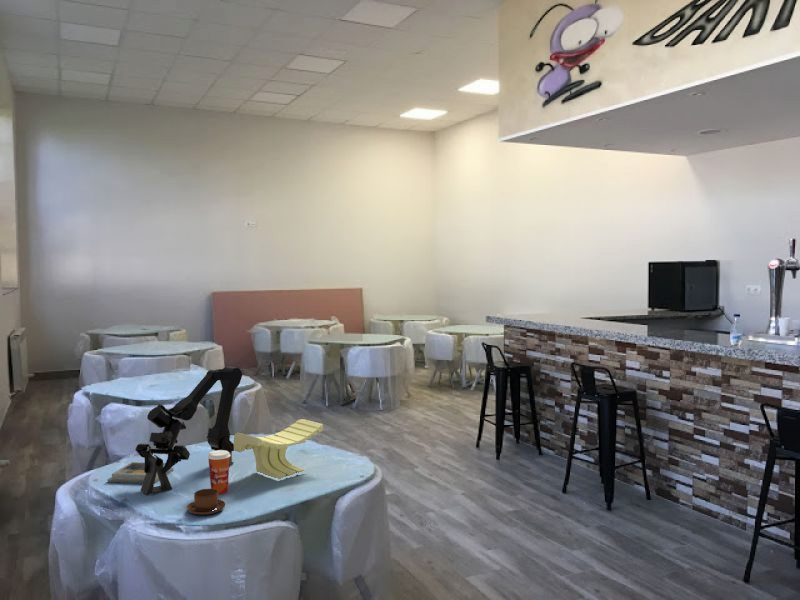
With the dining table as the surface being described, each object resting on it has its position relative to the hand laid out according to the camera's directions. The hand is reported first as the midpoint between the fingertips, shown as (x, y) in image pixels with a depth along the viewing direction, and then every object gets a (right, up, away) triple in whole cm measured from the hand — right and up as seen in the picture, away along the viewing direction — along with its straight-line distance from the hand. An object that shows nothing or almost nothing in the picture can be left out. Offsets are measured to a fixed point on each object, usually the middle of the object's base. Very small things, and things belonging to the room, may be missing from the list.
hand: (154, 473), depth 236 cm
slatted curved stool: (+40, -6, +21) cm, 46 cm away
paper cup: (+23, -7, 0) cm, 24 cm away
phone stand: (0, -7, +2) cm, 7 cm away
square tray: (-11, -6, +17) cm, 22 cm away
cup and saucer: (+24, -8, -18) cm, 31 cm away
